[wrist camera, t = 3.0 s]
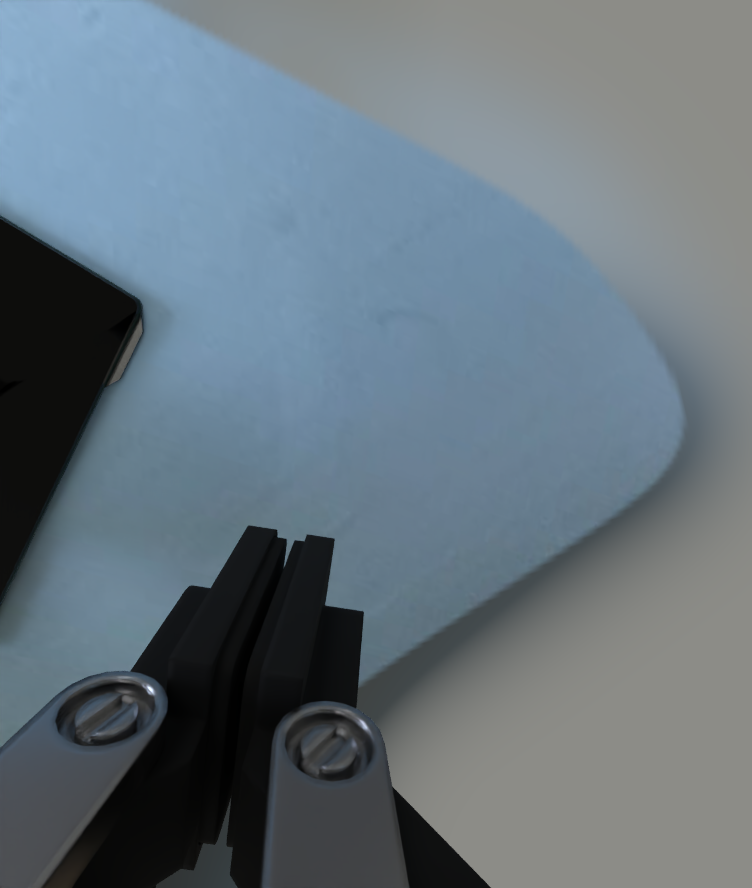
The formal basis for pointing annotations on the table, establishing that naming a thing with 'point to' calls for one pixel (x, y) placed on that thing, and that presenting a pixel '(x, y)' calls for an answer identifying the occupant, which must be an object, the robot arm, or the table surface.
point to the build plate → (50, 374)
